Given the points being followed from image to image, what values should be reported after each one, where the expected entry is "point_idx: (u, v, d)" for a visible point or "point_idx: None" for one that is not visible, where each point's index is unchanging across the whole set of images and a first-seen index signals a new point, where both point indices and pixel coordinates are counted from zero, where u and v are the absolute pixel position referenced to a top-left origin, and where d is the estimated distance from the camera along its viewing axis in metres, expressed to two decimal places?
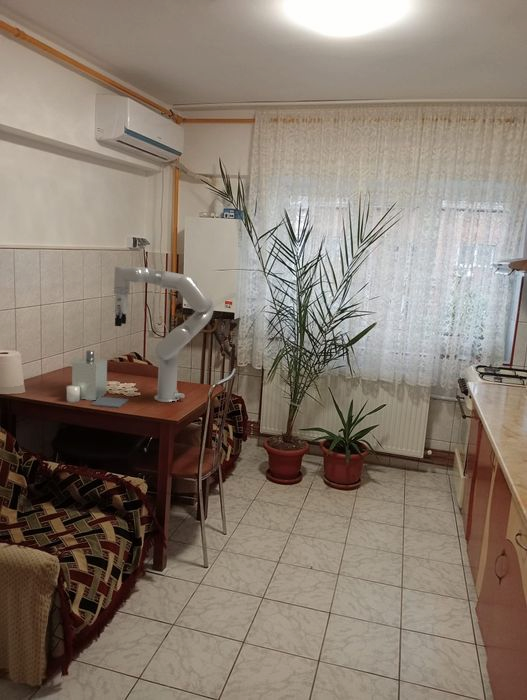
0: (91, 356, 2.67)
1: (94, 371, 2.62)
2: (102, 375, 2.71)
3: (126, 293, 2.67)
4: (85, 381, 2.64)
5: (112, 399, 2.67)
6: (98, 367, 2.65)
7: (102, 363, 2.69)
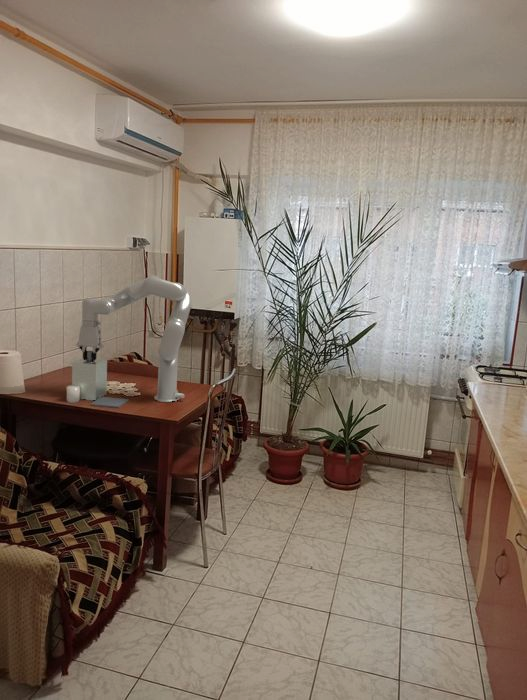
0: (91, 356, 2.67)
1: (94, 371, 2.62)
2: (102, 375, 2.71)
3: None
4: (85, 381, 2.64)
5: (112, 399, 2.67)
6: (98, 367, 2.65)
7: (102, 363, 2.69)
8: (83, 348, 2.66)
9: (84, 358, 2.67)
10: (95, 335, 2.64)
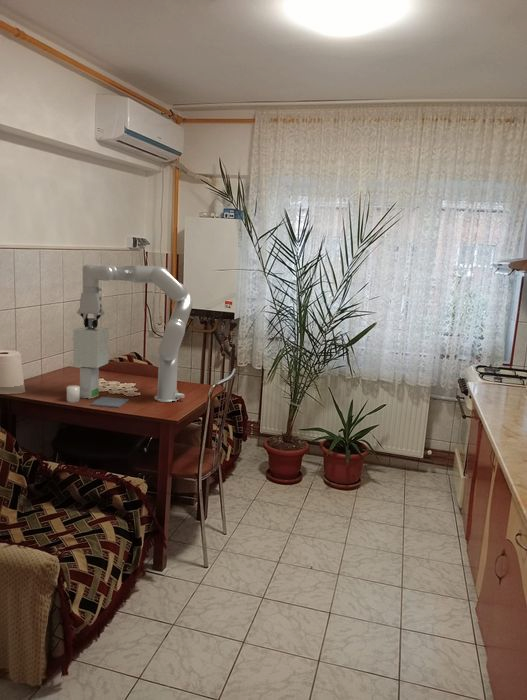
0: (92, 323, 2.64)
1: (95, 338, 2.60)
2: (104, 342, 2.68)
3: None
4: (86, 348, 2.61)
5: (112, 399, 2.67)
6: (100, 334, 2.63)
7: (103, 330, 2.67)
8: (84, 315, 2.63)
9: (85, 325, 2.64)
10: (96, 301, 2.61)
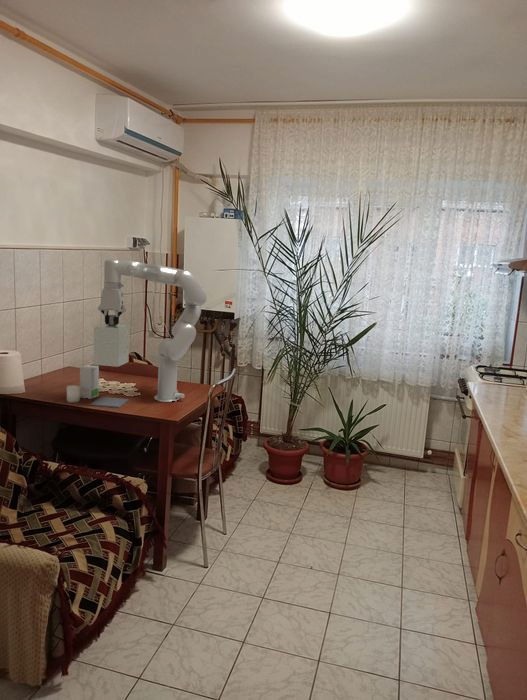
0: (113, 320, 2.55)
1: (117, 335, 2.50)
2: (125, 340, 2.59)
3: None
4: (107, 346, 2.52)
5: (112, 399, 2.67)
6: (121, 332, 2.53)
7: (125, 328, 2.57)
8: (105, 312, 2.54)
9: (106, 322, 2.55)
10: (118, 298, 2.51)
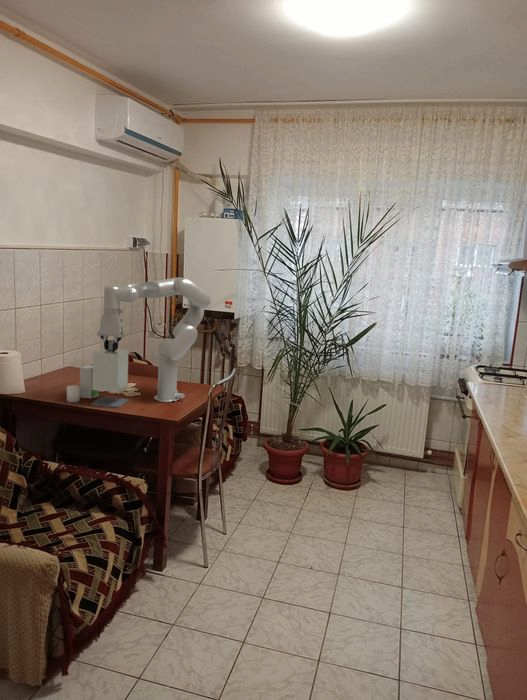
0: (112, 346, 2.57)
1: (116, 361, 2.52)
2: (124, 365, 2.61)
3: None
4: (106, 371, 2.53)
5: (112, 399, 2.67)
6: (120, 357, 2.55)
7: (124, 353, 2.59)
8: (104, 337, 2.56)
9: (105, 348, 2.56)
10: (117, 324, 2.53)
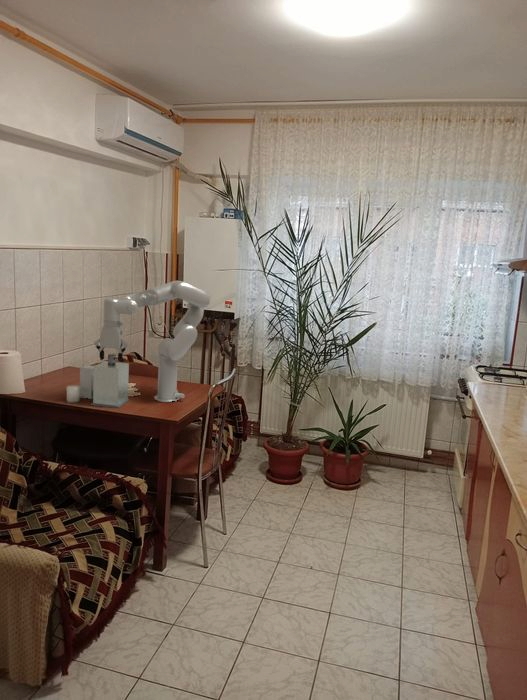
0: (113, 360, 2.58)
1: (116, 375, 2.53)
2: (124, 379, 2.62)
3: None
4: (107, 386, 2.55)
5: None
6: (121, 371, 2.56)
7: (124, 367, 2.60)
8: (101, 348, 2.57)
9: (101, 358, 2.58)
10: (117, 336, 2.54)
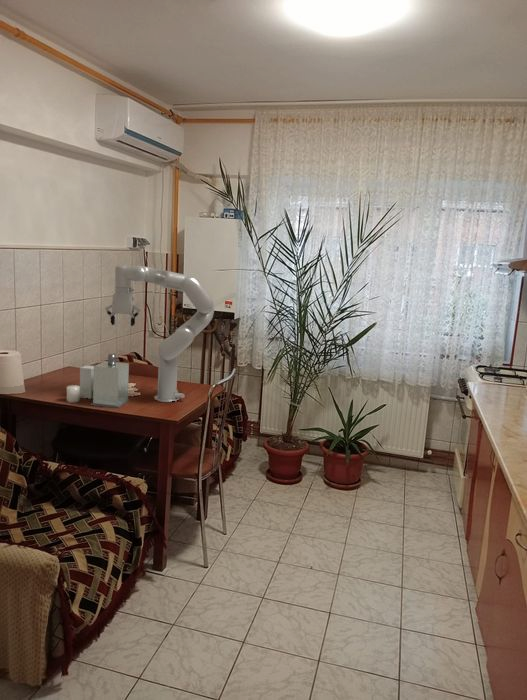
0: (113, 360, 2.58)
1: (116, 375, 2.53)
2: (124, 379, 2.62)
3: None
4: (107, 386, 2.55)
5: None
6: (121, 371, 2.56)
7: (124, 367, 2.60)
8: (112, 313, 2.65)
9: (112, 323, 2.66)
10: (129, 302, 2.64)
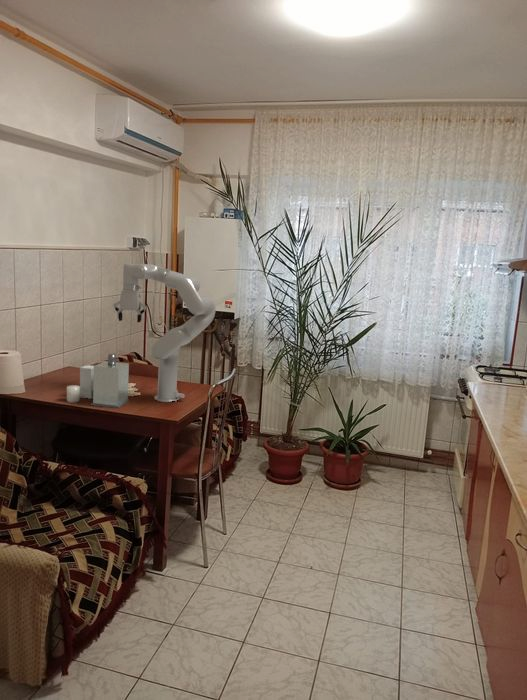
0: (113, 360, 2.58)
1: (116, 375, 2.53)
2: (124, 379, 2.62)
3: None
4: (107, 386, 2.55)
5: None
6: (121, 371, 2.56)
7: (124, 367, 2.60)
8: (120, 310, 2.74)
9: (119, 319, 2.74)
10: (136, 299, 2.71)
